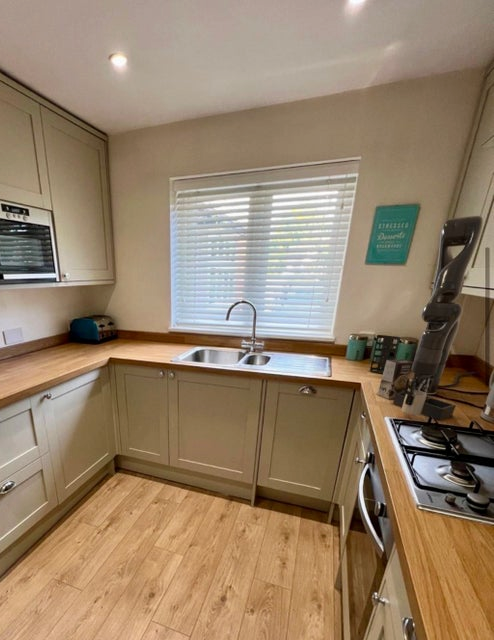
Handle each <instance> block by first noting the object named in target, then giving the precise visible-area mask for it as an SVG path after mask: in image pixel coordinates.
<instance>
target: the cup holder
mask: <svg viewBox="0 0 494 640" xmlns="http://www.w3.org/2000/svg"><path fill="white" fill-rule="evenodd" d="M405 396H406V394H405V393H404V392H401V393H397V394H396V395H395V398H394V399H393V402H392V404H393V405H395V406H398V407H400V408H402V406H403V403H404V399H405ZM455 409H456V404H453V403H450V402H448V401H444V400H440V399H437V398H434V397H430V396H429V395H427V396H426V399H425V402H424V406H423V409H422V412H421V414H420V415H423V416H426V417H428V418H431V417H430V416H432V418H431V419H434V420H437V421H442V420H445V419H448V418H451V417H453V414H454V412H455Z"/></svg>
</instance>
